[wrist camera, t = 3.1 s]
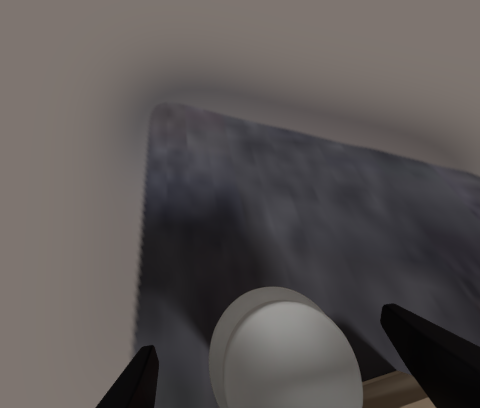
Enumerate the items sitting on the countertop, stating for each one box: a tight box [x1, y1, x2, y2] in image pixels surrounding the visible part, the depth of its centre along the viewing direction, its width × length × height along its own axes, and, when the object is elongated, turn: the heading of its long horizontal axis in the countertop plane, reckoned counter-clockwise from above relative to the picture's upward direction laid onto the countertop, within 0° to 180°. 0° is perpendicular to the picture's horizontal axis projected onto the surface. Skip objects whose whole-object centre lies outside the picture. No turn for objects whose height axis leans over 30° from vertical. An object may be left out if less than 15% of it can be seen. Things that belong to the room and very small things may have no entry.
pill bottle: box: [209, 287, 363, 408], centre depth 11 cm, size 5×5×10 cm
